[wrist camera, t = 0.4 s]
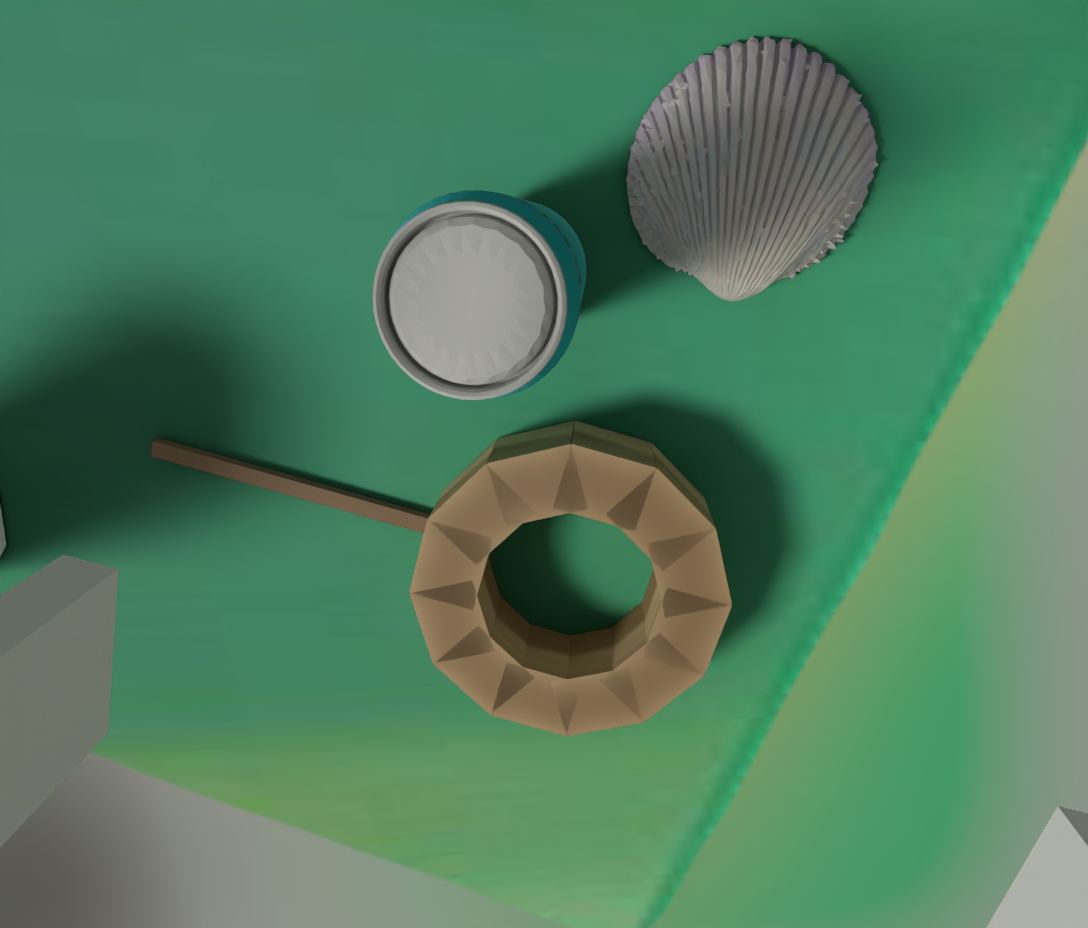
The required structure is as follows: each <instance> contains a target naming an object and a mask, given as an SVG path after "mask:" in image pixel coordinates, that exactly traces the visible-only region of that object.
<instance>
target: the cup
mask: <svg viewBox="0 0 1088 928" xmlns="http://www.w3.org/2000/svg"><path fill="white" fill-rule="evenodd" d="M5 546H6V539H5V533H4V526H3V519H2V513H1V506H0V557H1V555H2V553H3V550H4V548H5Z"/></svg>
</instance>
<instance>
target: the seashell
mask: <svg viewBox="0 0 1088 928" xmlns="http://www.w3.org/2000/svg"><path fill="white" fill-rule="evenodd" d="M792 40H793V39H781V40H780V41H779V42H778V43H777V44H776V43H775V40H773V39H770V38H769V37H764V38H763V39H762V41H761V42H758V39H756V38H754V37H751V38H750V39H749V40H748V41H747V42H746V43H745V44H743V43H741V42H738V41H735V42H734V43H733V44H732V45H731V46H730V47H729V48H726V47H720V46H718V47H717V48H716V50H715V51H714V53H713V55H703V54H701V55H700V57H699V60H698V61H695V62H693V63H692V64H690V65H688V66H687V67H686V69H685V71H683V72H680V73H678V74H677V75H676V76H675V78H674V79H673V81H672V82H670V83H669V84H668V85H667V86H666V87H664V88H663V89H662V91H661V93H660V95H659V96H658V97H657V98H656V99H655V100H654V101H653V104H652V105H651V107H650V108H649V110H648V111H647V113H646V115H644V116H643V119H642V121H641V123H640V126H639V128H638V130H637V131H636V132H635V135H636V138H635V141H634V144H633V145H632V146H631V147H630V149H631V155H630V159H629V163H628V164H627V165H628V176H627V178H626V181H627V193H628V199H629V205H630V213H631V216H632V220H633V224H634V226H635V227H636V229H637V231H638V232H639V235H640V237H641V238H642V244H644V245H646V246H647V247H648V249H649V251H650V252H651V253H653V254H654V255H656V256H657V260H658V259H661V260H662V261H663V262H664V264H666V265H667V266H669V267H670V268H672V267H675V270H676V272H677V271H679V270H681V269H682V270H683V272H688V273H689V275H694V277H696V278H697V279H698V280H699V281H700V282H701V283H703V284H704V285H705V286H706V287H707V289H709V290H710V291H711V292H713V293H714V294H715V295H717V296H718V297H720V298H721V299H723V300H727V301H740V300H743V299H746V298H749V297H751V296H753V295H755V294H757V293H759V292H761V291H762V290H764V289H765V288H766V287H768V286H769V285H770V284H771V283H773V282H775V281H776V280H777V281H779V280H781V279H783V278H788V277H790V278H791V279H793V278H794V277H795V276H797V274H796V273H795V272H797V271H799V272H801V270H802V269H804V268H805V267H808V268H811V264H813V263H819V262H820V259H822V258H823V257H825V256H827V253H826V251H828V250H829V249H836V247H835V244H836V243H837V242H844V240H843V239H842V238H843V237H844V232H845V231H846V230H848V229H849V227H850V225H851V224H852V223H853V222H854V221H855V216H856V215H857V213H858V212H859V211H860V210H861V209H862V208H863V205H862V204H863V202H864V200H865V198H866V196H867V194H868V192H869V191H868V190H867V186H868V184H869V182H870V181H871V180H872V179H873V177H874V175H873V174H872V173H873V171H874V168H875V167H877V166H878V164H877V163H876V151H877V148H878V145H877V144H876V140H875V138H874V136H875V131H874V129H873V127H872V125H871V123H870V119H869V117H868V116H869V113H868V110H867V109H866V108H864V106H863V104H862V102H859V100H860V98H861V97H862V95H860V94H857V93H856V92H855V90H854V89H853V88H850V87H847V86H848V84H849V81H850V80H848V79H846V77H845V76H842V75H839V74H835V67H834V64H833V63H823V62H822V57H821V55H820V54H819V53H817V52H811V53H810V54H808V53H807V49H805V47H804V46H803V45H801V44H798V45H797V46H795V47H794V48H793V49H792V48H791V42H792Z"/></svg>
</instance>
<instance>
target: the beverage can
mask: <svg viewBox="0 0 1088 928" xmlns="http://www.w3.org/2000/svg"><path fill="white" fill-rule="evenodd" d="M585 282H586V260H585V254H584V251H583V248H582V244H581V242H580V240H579V238H578V236H577V234H576V233H575V231H574V230H573V228H572V227H571V226H570V225H569V223H568V222H567V221H566V220H565V219H564V218H563V217H561V216H560V215H559V214H558V213H556V212H555V211H553V210H552V209H550V208H548V207H546V206H544V205H541V204H538V203H535V202H531V201H527V200H524V199H520V198H516V197H512V196H508V195H504V194H500V193H494V192H488V191H461V192H456V193H450V194H447V195H444V196H441V197H439V198H436V199H433V200H432V201H430V202H428V203H426V204H425V205H423V206H421V207H419V208H418V209H417V210H416V211H414V212H413V213H412V214H411V215H410V216H408V217H407V218H406V219H405V220H404V222H403V223H402V224H401V225H400V226H399V227H398V228H397V230H396V231H395V233H394V234H393V236H392V237H391V239H390V241H389V242H388V244H387V246H386V248H385V250H384V252H383V254H382V256H381V259H380V261H379V264H378V266H377V270H376V275H375V279H374V286H373V309H374V316H375V320H376V325H377V328H378V331H379V333H380V336H381V339H382V341H383V343H384V345H385V347H386V348H387V350H388V352H389V354H390V355H391V357H392V358H393V359H394V360H395V362H396V363H397V364H398V366H399V367H400V368H401V369H402V370H403V371H404V372H405V373H407V374H408V375H409V376H410V377H411V378H412V379H414V380H415V381H416V382H418V383H419V384H421V385H422V386H424V387H426V388H428V389H430V390H432V391H434V392H436V393H439V394H442V395H445V396H448V397H452V398H458V399H464V400H483V399H493V398H500V397H505V396H508V395H511V394H514V393H517V392H520V391H522V390H524V389H526V388H528V387H530V386H532V385H533V384H534V383H536V382H537V381H539V380H540V379H541V378H543V377H544V376H545V375H546V374H547V373H548V372H549V371H550V370H551V369H552V368H553V367H554V366H555V365H556V364H557V363H558V361H559V360H560V358H561V357H562V356H563V354H564V353H565V351H566V349H567V347H568V345H569V343H570V341H571V339H572V337H573V334H574V331H575V328H576V325H577V321H578V316H579V311H580V307H581V302H582V298H583V293H584V288H585Z"/></svg>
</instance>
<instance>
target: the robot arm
mask: <svg viewBox="0 0 1088 928" xmlns="http://www.w3.org/2000/svg"><path fill="white" fill-rule="evenodd" d="M117 582H118V568H114V567H110V566H106V565H102V564H98V563H94V562H90V561H86V560H82V559H78V558H74V557H70V556H66V555H62V556H60V557H59V558H57V559H56V560H54V561H53V562H51V563H50V564H48V565H46V566H45V567H43V568H42V569H40V570H39V571H37V572H36V573H34V574H33V575H31V576H30V577H28V578H26V579H25V580H23V581H22V582H20V583H19V584H17V585H16V586H14V587H13V588H11V589H10V590H8V591H6V592H5V593H3V594H2V595H0V847H1V846H2V845H3V844H4V843H5V842H6V841H7V840H8V839H9V837H10V836H11V835H12V834H13V833H14V832H15V831H16V830H17V829H18V828H19V827H20V826H21V825H22V824H23V823H24V822H25V820H26V819H27V818H28V817H29V816H30V815H31V814H32V813H33V812H34V811H35V810H36V809H37V808H38V806H40V805H41V803H42V802H43V801H44V800H45V799H46V798H47V797H48V796H49V795H50V794H51V793H52V792H53V791H54V789H56V787H57V786H58V785H59V784H60V783H61V782H62V781H63V780H64V779H65V778H66V777H67V776H68V775H69V774H70V772H71V771H72V770H73V769H74V768H75V767H76V766H77V765H78V764H79V763H80V762H81V761H82V759H84V757H86V755H87V754H88V753H89V752H90V751H91V750H92V749H93V748H94V747H95V746H96V745H97V744H98V743H99V742H100V741H101V739H102V738H103V737H104V736H105V735H106V734H107V733H108V724H109V708H110V692H111V676H112V661H113V645H114V629H115V613H116V597H117ZM987 928H1088V814H1087V813H1083V812H1079V811H1075V810H1071V809H1067V808H1063V807H1059V806H1058V807H1057V809H1056V810H1055V812H1054V814H1053V815H1052V817H1051V819H1050V821H1049V822H1048V824H1047V826H1046V828H1045V829H1044V831H1043V832H1042V834H1041V836H1040V838H1039V839H1038V841H1037V843H1036V844H1035V846H1034V848H1033V849H1032V851H1031V853H1030V855H1029V856H1028V858H1027V860H1026V862H1025V863H1024V865H1023V867H1022V868H1021V870H1020V872H1019V873H1018V875H1017V877H1016V878H1015V880H1014V882H1013V884H1012V885H1011V887H1010V889H1009V890H1008V892H1007V894H1006V896H1005V897H1004V899H1003V901H1002V902H1001V904H1000V906H999V908H998V909H997V911H996V913H995V914H994V916H993V918H992V919H991V921H990V923H989V925H988V926H987Z"/></svg>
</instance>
